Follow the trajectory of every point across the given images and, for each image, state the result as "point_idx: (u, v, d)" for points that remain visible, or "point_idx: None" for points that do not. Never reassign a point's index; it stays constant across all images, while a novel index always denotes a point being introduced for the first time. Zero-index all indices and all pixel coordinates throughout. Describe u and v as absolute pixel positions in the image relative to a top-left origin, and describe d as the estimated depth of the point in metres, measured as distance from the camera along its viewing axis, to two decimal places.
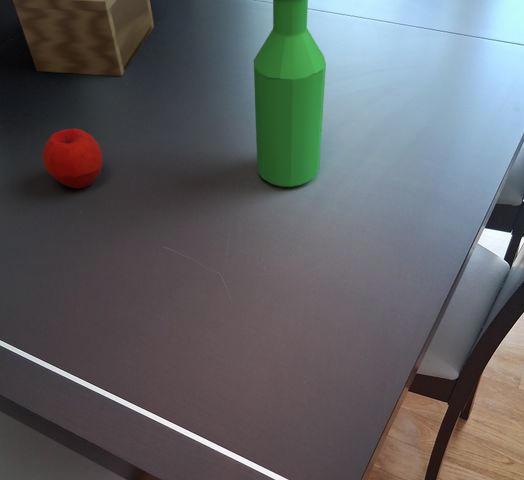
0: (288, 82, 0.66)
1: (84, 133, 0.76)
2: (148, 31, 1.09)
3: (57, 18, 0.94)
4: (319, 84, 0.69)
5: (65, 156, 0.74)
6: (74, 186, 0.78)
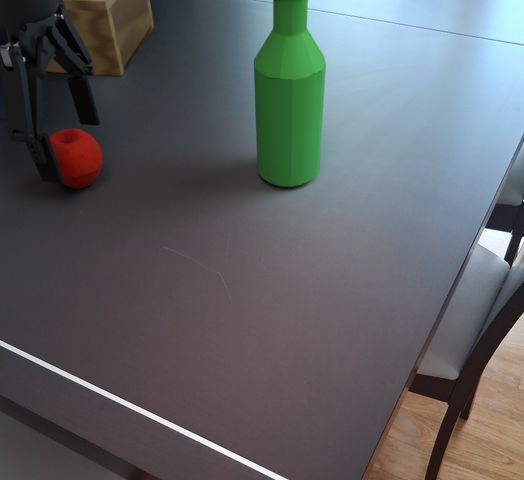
0: (288, 82, 0.66)
1: (84, 133, 0.76)
2: (148, 31, 1.09)
3: None
4: (319, 84, 0.69)
5: (65, 156, 0.74)
6: (74, 186, 0.78)
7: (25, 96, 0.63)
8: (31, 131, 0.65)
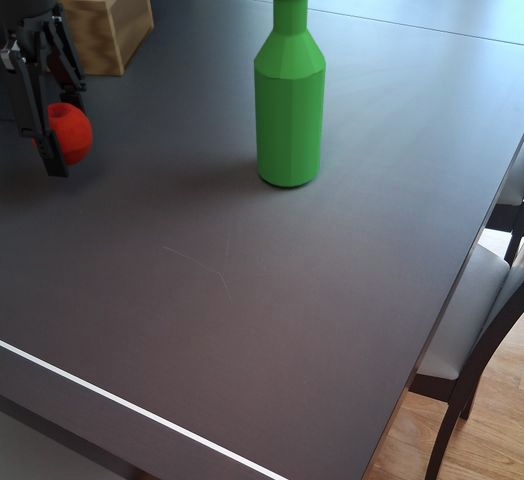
0: (288, 82, 0.66)
1: (74, 108, 0.74)
2: (148, 31, 1.09)
3: None
4: (319, 84, 0.69)
5: None
6: None
7: (30, 96, 0.64)
8: (39, 127, 0.67)
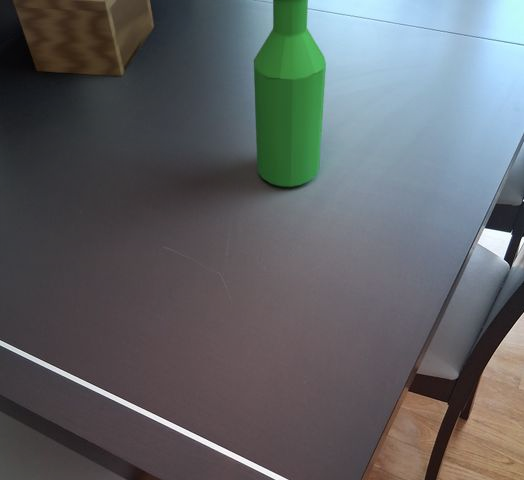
0: (288, 82, 0.66)
1: None
2: (148, 31, 1.09)
3: (57, 18, 0.94)
4: (319, 84, 0.69)
5: None
6: None
7: None
8: None
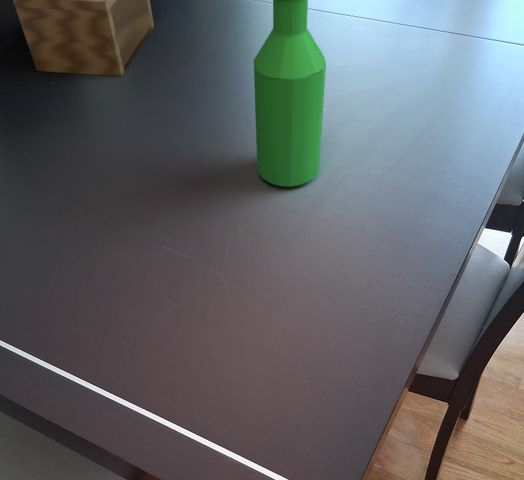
0: (288, 82, 0.66)
1: None
2: (148, 31, 1.09)
3: (57, 18, 0.94)
4: (319, 84, 0.69)
5: None
6: None
7: None
8: None
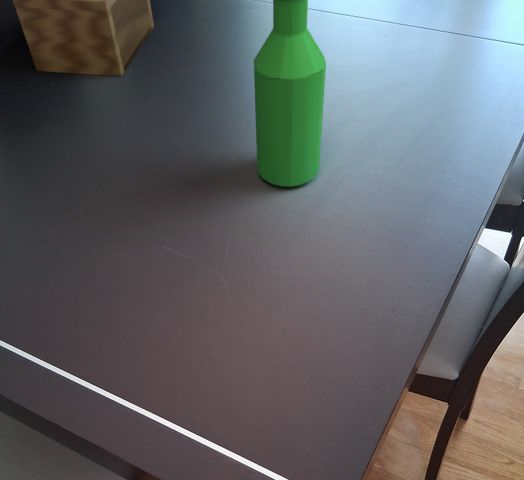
0: (288, 82, 0.66)
1: None
2: (148, 31, 1.09)
3: (57, 18, 0.94)
4: (319, 84, 0.69)
5: None
6: None
7: None
8: None
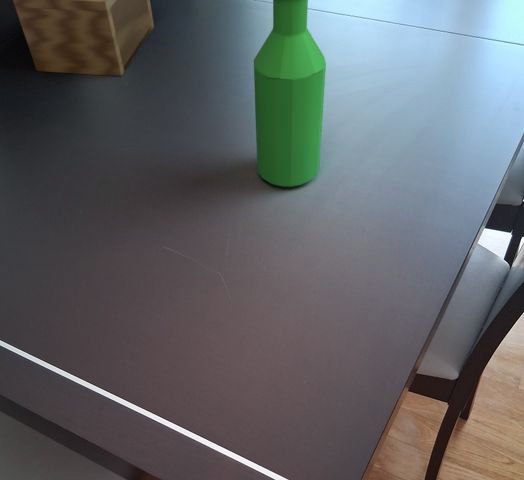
0: (288, 82, 0.66)
1: None
2: (148, 31, 1.09)
3: (57, 18, 0.94)
4: (319, 84, 0.69)
5: None
6: None
7: None
8: None
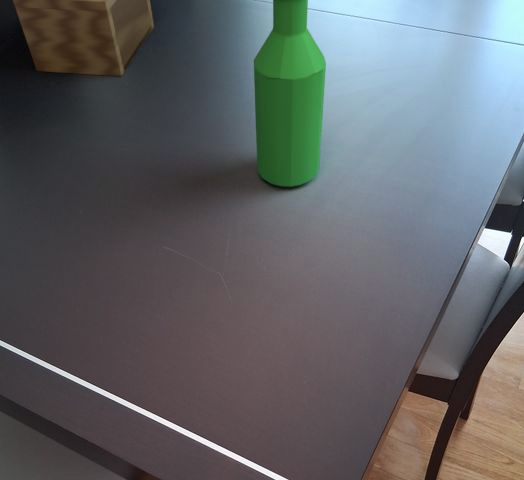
0: (288, 82, 0.66)
1: None
2: (148, 31, 1.09)
3: (57, 18, 0.94)
4: (319, 84, 0.69)
5: None
6: None
7: None
8: None
